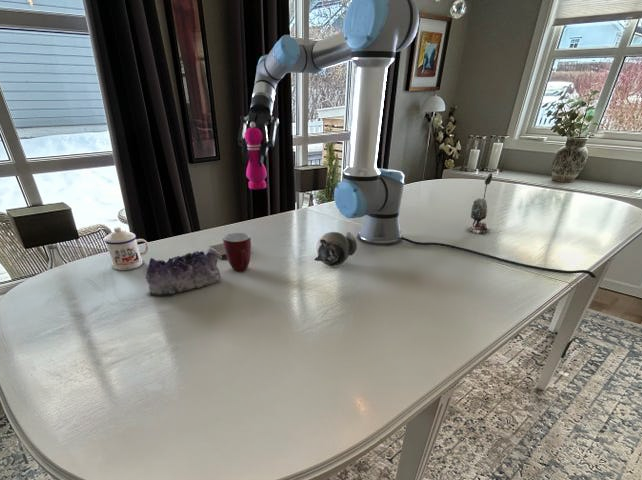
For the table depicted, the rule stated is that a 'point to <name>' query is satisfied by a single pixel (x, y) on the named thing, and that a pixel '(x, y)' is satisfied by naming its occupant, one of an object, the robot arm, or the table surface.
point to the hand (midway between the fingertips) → (252, 163)
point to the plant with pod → (480, 211)
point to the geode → (182, 273)
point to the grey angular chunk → (218, 250)
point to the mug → (238, 250)
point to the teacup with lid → (124, 249)
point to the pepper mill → (255, 158)
